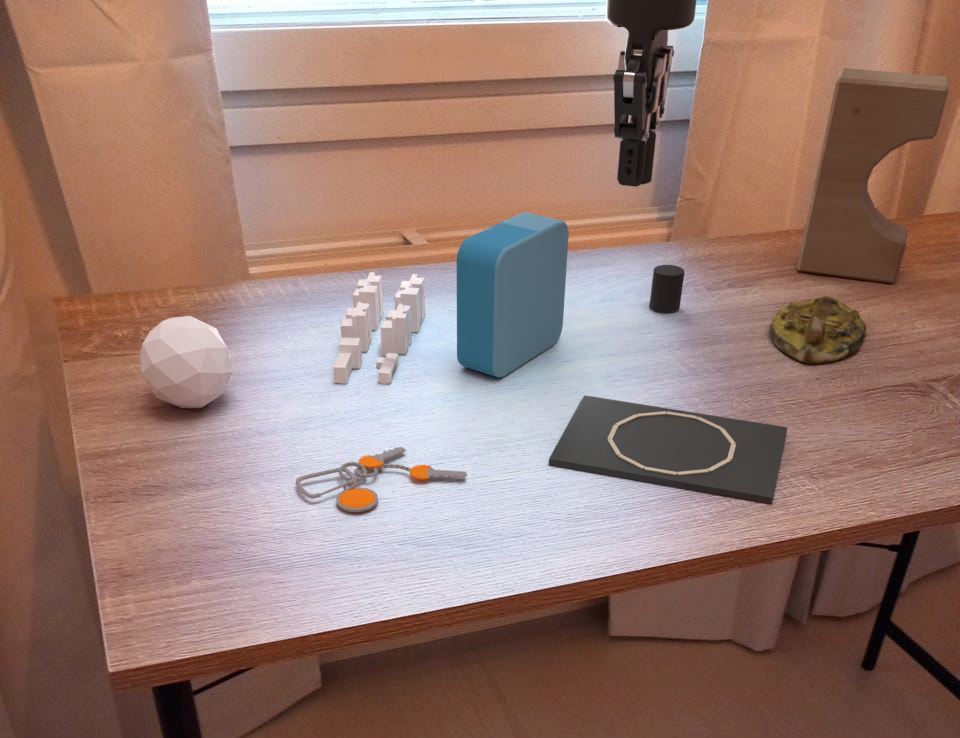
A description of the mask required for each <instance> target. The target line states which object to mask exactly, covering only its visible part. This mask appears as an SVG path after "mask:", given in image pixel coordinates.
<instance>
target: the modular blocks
mask: <svg viewBox="0 0 960 738" xmlns="http://www.w3.org/2000/svg"><path fill="white" fill-rule="evenodd" d="M398 289H399V290H396V293H395V295H394V309H388V312H387V314H386V315H385V319H383V315H384V313H385V312H384V296H383V295H384V293H383V277H382V275H376V272H374V271H369V273H368V276H367V278H365V279H364V278H360V279H359V280H358V283H357V285H356V288H355V289H354V292H353V294H352V302H353V307H348V308H347V311H346V313H345V317H344V318H343V319H342V322H341V324H340V331H341V339H340V342H339V343H338V348H339V353H338V355H337V358H336V360H335V363H334V365H333V368H332V369H333V378H334V384H348V381H349V378H350V376H351V374H352V370H353V369H354V370H360V368H361V366H362V363H363V357H362V356H363V355H362V353H368V351H369V348H370V347H369V345H370V344H371V342H372V339H373V338H372V331H378V329H379V326H380V343H381V344H380V345H381V347H379V348H378V353H380V350H381V356H383V357H378V359H377V361H376V366H375V367H376V368H378V369H379V370H378V372H377V375H378V384H386V385H391V383H392V381H393V374H395V372H394V371H395V370H397V369H398V367H399V366H400V365H399V363H400V359H399V355H407V354H408V351H409V347H410V346H411V344H412V341H413V340H412V333H419V330H420V328H421V323H422V322H424V319H425V317H426V294H425V277H419V276H418V274H417V273H412V275H411V276H410V278H409V280H407V281H406V280H402V282H401V283H400V285H399V287H398ZM382 319H383V321H382V323H380V320H382ZM374 340H375V342H374V343H372V345H374V344H375V343H377V337H375V338H374ZM359 393H361V391H360V390H359V391H358V390H357V391H355V392H354V395H357V394H359Z"/></svg>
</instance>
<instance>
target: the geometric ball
mask: <svg viewBox="0 0 960 738" xmlns="http://www.w3.org/2000/svg"><path fill="white" fill-rule="evenodd" d="M138 357H139V367H140V368H139V370H140V374H141V376H142V377H143V379H144V380H145V382H146V383H147V385H148V387H149V389H150V390H151V392H152V393H153V395H154V397H155V398H156V399H158V400H161V401H163V402H165V403H168V404H170V405H173V406H175V407H177V406H178V408H180V407H181V408H180V409H182V407H183V408H187V409H201V408H203V407H206V405H208V404H210V403H211V402H212V401H214V400H215V399H217V398H219V397H220V396H222V395H223V394H224V392H225V390H226V388H227V386H228V383H229V381H230V379H231V377H232V374H233V372H234V370H233V363H232V355H231V352H230V350H229V348H228V347H227V344H226V343H225V341H224V339H223V338H222V336H221V334H220V332H219V331H218V329H217V328H216V327H215V326H212V325H211V324H208V323H207V322H204V321H202V320H200V319H197V318H196V317H194V316H192V315H185V316H176V317H169V318H167V319H164V320H162V321H160V322H159V323H158V324H157V325H156V326H154V327H153V328H152V329H151V330H150V331H149V332H148V334H147V335H146V337H145V338H144V340H143V342H142V344H141V348H140V351H139V355H138Z"/></svg>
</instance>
